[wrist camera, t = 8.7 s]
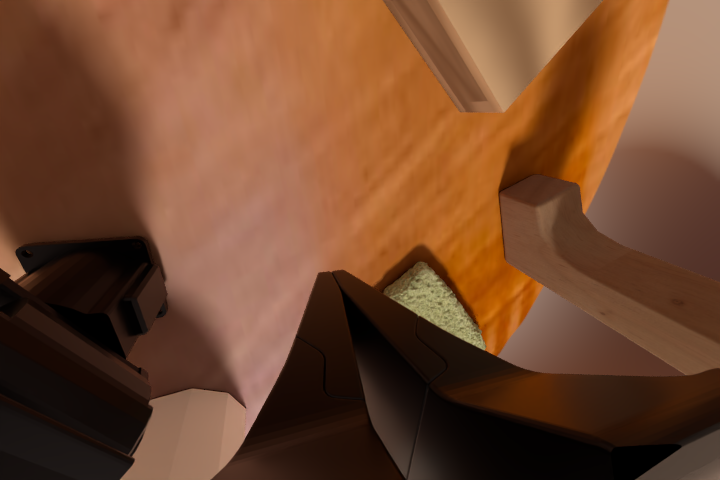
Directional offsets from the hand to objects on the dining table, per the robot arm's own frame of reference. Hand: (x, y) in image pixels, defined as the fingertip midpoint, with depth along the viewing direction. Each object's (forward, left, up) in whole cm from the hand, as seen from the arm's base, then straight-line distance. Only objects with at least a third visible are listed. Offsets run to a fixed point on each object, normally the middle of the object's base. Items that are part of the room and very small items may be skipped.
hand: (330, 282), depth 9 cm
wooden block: (+23, -4, -13) cm, 27 cm away
